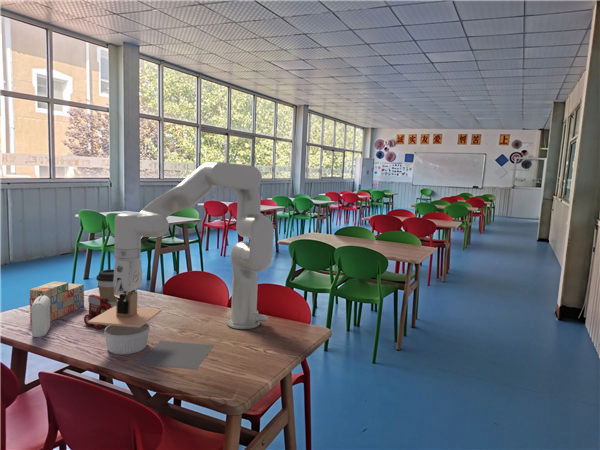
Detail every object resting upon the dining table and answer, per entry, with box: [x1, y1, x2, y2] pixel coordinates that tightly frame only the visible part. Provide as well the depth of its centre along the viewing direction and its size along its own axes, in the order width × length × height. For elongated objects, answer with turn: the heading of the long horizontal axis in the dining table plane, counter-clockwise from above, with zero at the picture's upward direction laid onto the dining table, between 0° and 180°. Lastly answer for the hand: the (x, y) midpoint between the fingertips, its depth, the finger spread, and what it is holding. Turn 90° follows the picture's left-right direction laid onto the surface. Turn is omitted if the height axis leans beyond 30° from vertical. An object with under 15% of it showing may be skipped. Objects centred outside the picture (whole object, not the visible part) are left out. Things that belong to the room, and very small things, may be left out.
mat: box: [135, 340, 215, 370], centre depth 132 cm, size 18×18×1 cm
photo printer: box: [31, 296, 51, 338], centre depth 144 cm, size 10×4×12 cm, turn 20°
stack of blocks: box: [29, 280, 85, 323], centre depth 163 cm, size 21×6×12 cm, turn 171°
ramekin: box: [103, 322, 151, 355], centre depth 135 cm, size 13×13×7 cm
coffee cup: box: [95, 268, 124, 307], centre depth 173 cm, size 11×11×15 cm
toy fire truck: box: [83, 294, 112, 330], centre depth 154 cm, size 7×12×10 cm, turn 60°
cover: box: [88, 291, 163, 328], centre depth 134 cm, size 16×16×8 cm
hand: (126, 310), depth 134 cm, fingers closed on cover, 4 cm apart
